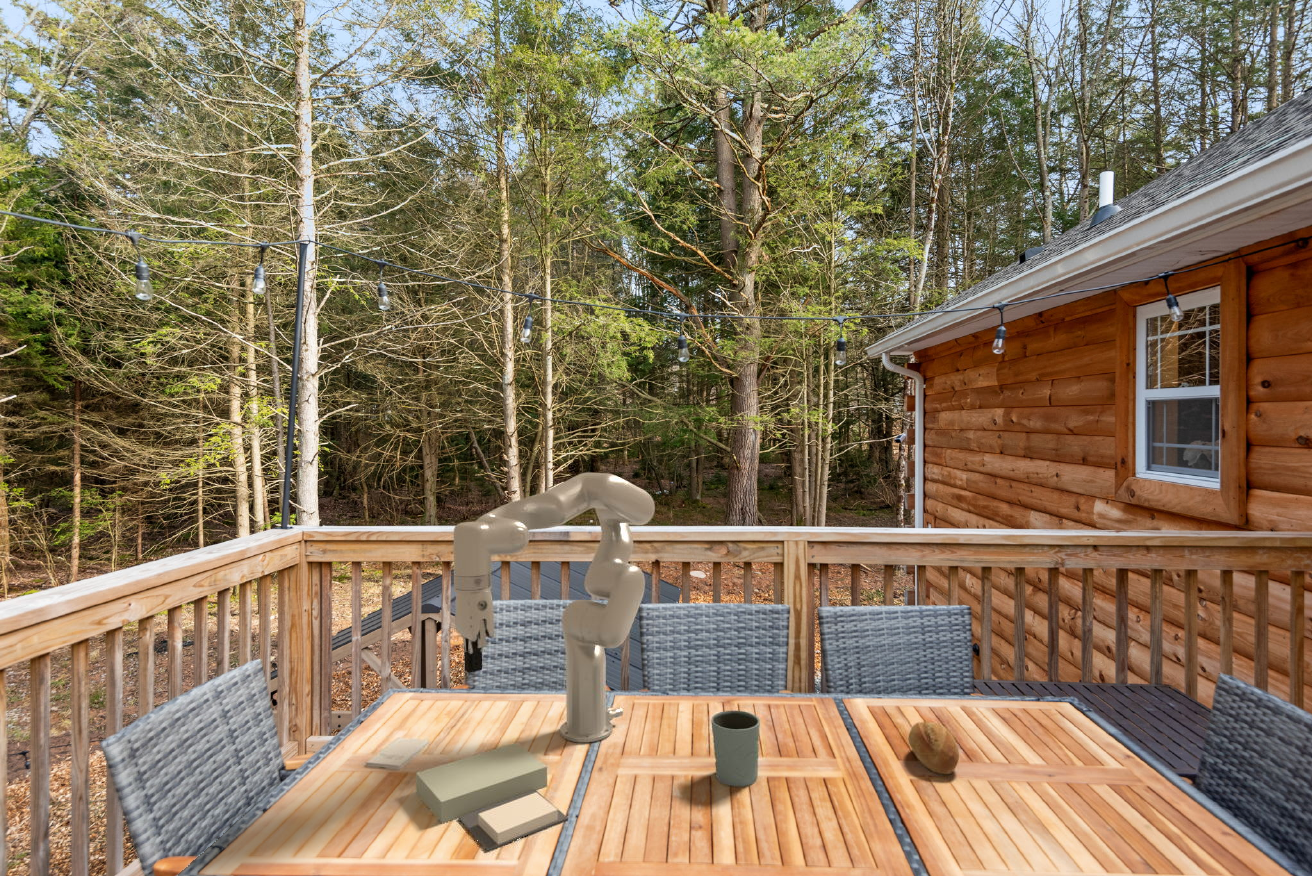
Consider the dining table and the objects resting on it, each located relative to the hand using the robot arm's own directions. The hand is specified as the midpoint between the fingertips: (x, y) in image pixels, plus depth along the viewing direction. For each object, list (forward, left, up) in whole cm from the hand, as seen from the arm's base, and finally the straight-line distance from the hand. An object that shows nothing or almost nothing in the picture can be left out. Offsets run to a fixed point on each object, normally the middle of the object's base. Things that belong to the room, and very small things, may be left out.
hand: (473, 670), depth 143 cm
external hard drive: (+9, -22, -24) cm, 34 cm away
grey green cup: (-44, +32, -23) cm, 59 cm away
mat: (0, +18, -23) cm, 29 cm away
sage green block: (0, +4, -23) cm, 23 cm away
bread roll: (-82, +54, -24) cm, 101 cm away
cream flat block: (0, +20, -21) cm, 29 cm away
